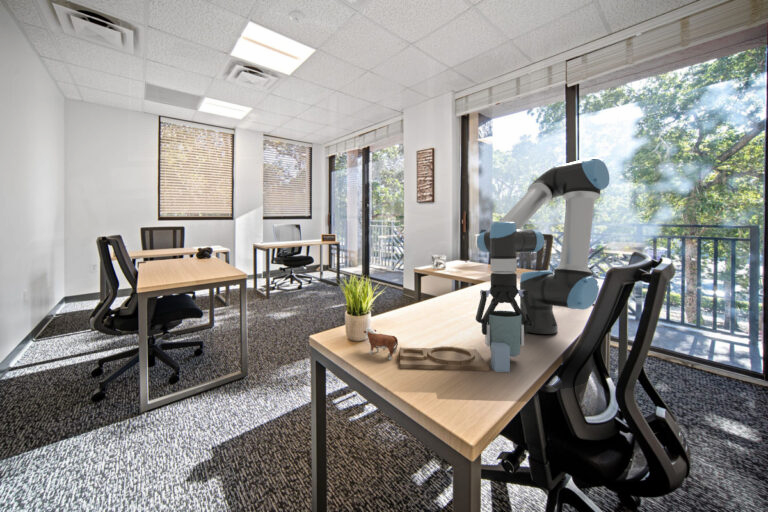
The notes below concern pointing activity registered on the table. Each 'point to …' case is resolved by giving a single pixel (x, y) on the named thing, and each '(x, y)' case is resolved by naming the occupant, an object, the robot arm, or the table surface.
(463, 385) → the table surface
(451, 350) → the jig
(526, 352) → the table surface
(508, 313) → the teal cup
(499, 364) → the block
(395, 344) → the bull figurine
